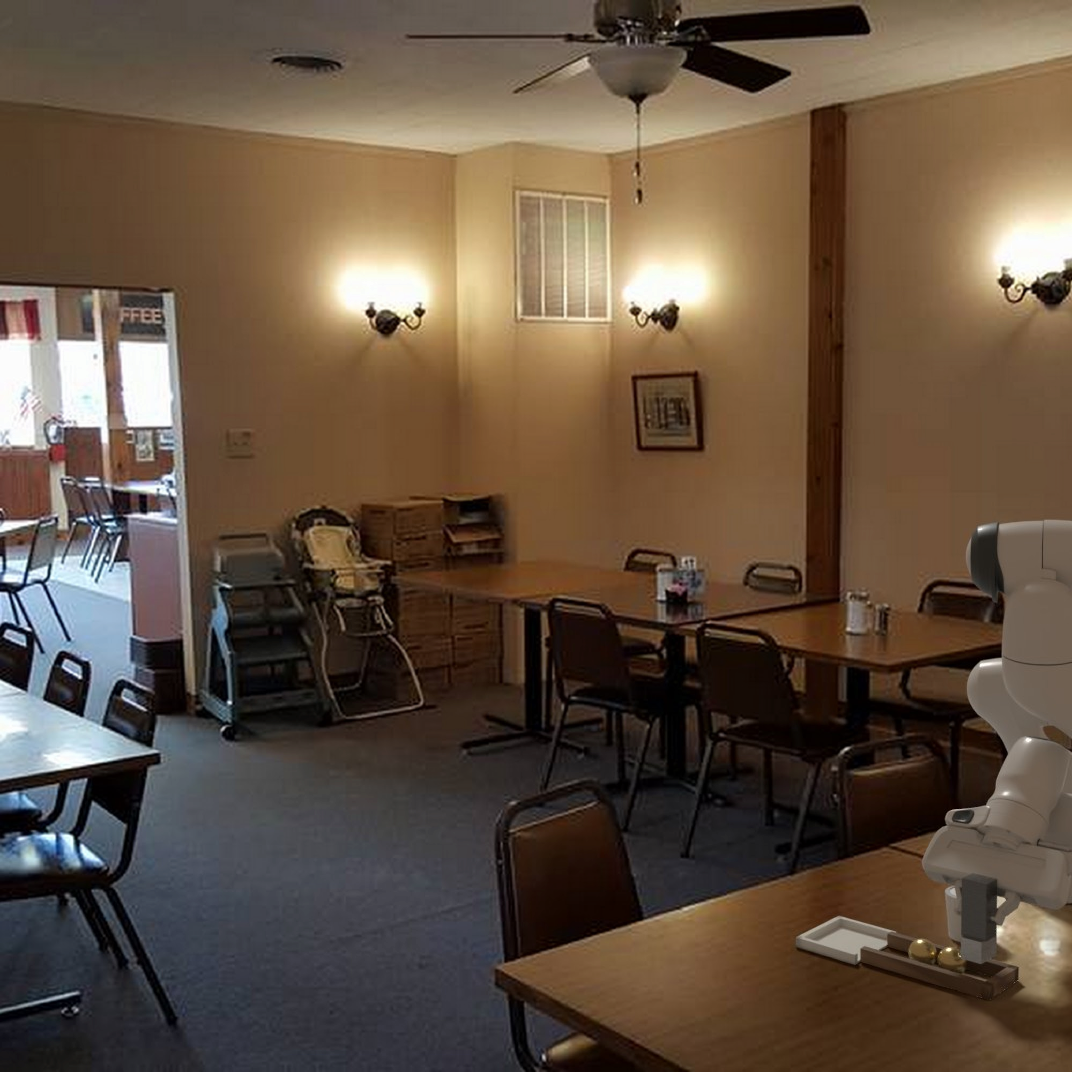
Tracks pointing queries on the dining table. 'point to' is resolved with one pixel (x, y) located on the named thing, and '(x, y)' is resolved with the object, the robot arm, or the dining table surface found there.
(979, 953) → the long gray brick
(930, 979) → the slot rail
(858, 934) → the tray
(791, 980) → the dining table surface
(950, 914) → the white cup
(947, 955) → the brass sphere
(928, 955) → the shiny gold ball
